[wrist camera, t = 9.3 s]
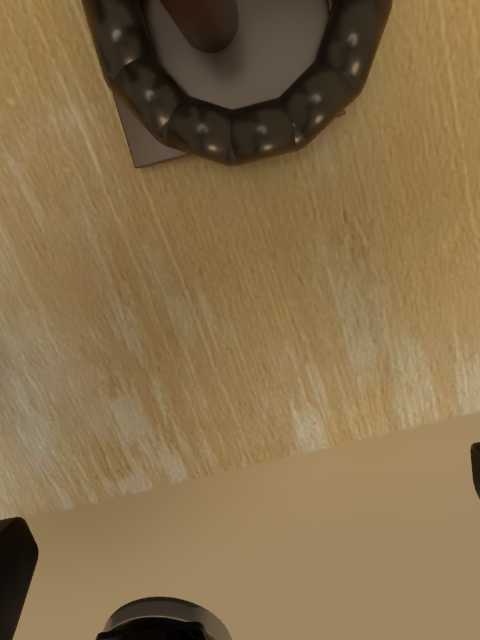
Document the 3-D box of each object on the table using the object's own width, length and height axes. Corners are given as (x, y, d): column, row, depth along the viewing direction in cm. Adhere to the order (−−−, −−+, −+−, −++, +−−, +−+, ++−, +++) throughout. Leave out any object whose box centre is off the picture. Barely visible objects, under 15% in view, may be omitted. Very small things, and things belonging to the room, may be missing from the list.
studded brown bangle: (398, 125, 16) (413, 121, 15) (144, 188, 17) (131, 191, 16) (358, -224, 13) (371, -280, 11) (55, -117, 14) (27, -153, 13)
